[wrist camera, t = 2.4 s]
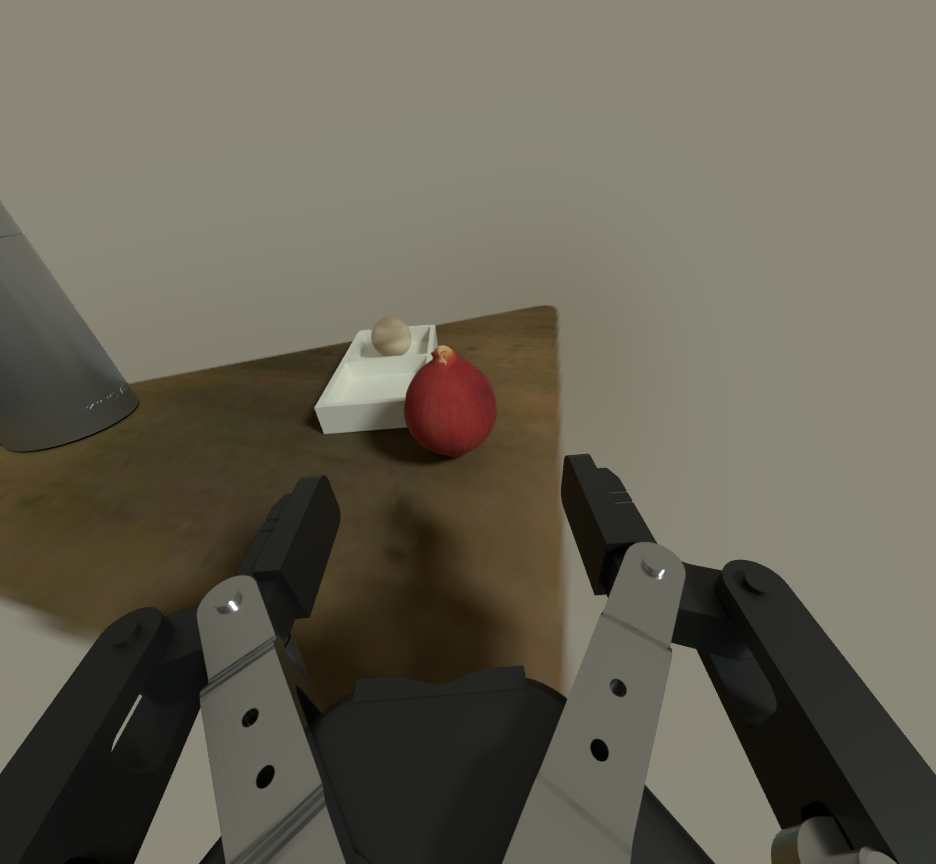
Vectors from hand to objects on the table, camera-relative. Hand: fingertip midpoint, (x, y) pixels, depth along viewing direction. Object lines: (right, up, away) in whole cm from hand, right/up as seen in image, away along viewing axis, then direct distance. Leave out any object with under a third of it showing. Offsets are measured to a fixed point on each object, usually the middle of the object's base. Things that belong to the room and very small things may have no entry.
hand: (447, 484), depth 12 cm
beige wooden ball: (-7, +10, +25) cm, 28 cm away
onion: (0, 0, +13) cm, 13 cm away
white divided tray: (-7, +7, +22) cm, 24 cm away
